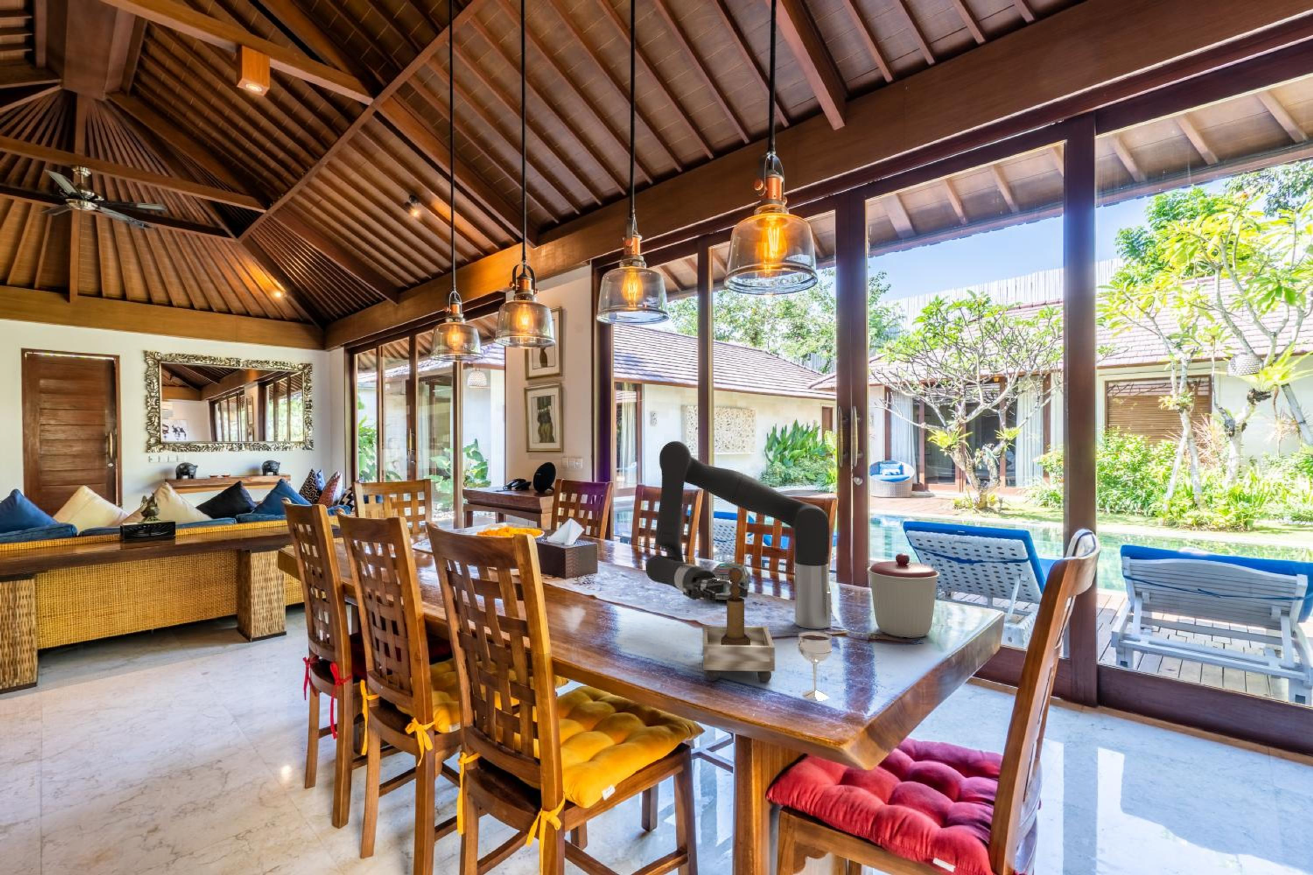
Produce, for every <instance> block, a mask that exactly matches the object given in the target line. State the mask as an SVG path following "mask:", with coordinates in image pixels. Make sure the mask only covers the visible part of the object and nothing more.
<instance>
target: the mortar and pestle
mask: <svg viewBox="0 0 1313 875" xmlns="http://www.w3.org/2000/svg"><path fill="white" fill-rule="evenodd" d="M728 575H729V578H730V580H731V582H732V587H731V588H730V591H731V595H732V597H729V598H727V600H726V626H727V634H725V635H724V636H723V637H722V638H721V645H750V638H749V637H747V635H745V634H744V626H745V599H744V598H743V597H741V598H739V595H740V590H741V589H740V588H739V586H738V584H739V582H740V580H741V578H742V572H741V570H740V569H738V568H732V569H730V571H729V574H728Z"/></svg>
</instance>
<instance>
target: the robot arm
mask: <svg viewBox="0 0 1313 875" xmlns="http://www.w3.org/2000/svg"><path fill="white" fill-rule="evenodd" d="M658 460H659V462H658V463H659V468H660V469H661V490H660V499H659V505H658V513H657V517H656V518H657V519H656V520H657V521H656V526H655V527H656V528H655V530H656V531H655V540H654V541H655V545H656V546H658V547H660V548H662V549H664V550H665V551H666V553H667V555H660V554H655V555H653V556H651V557H649V558H648V559H647V561H646V565H645V573H646V575H647V577H648V578H649V579H650V581H653V582H655V583H660V584H663V585H668V586H670V587H673V588H674V589H677V590H679V591H681V592H682V596H686V598H689V599H691V600H694V601H695V600H699V601H700V600H701V601H704V600H706V601H709V602H711V603H715V602H716V600H717V599H716V595H726V596H728V595H730V594H731V591H730V588H731V587H732V582H731V580H730V578H728V580H721V579H719V578H716V577H715V575H714V573H713V572H712V571H711V570H710V569H707V568H704V567H702V566H699V565H696V564H691V563H690V564H689V563H688V562H685V561H684V556H683V551H682V550H683V549H682V543H681V538H682V529H683V528H682V526H683V501H684V499H683V498H684V490H685V489H684V488H685V487H684V486H685V483H686V484H689V485H692V486H695V487H697V488H700V489H701V490H704V491H706V492H708V493H709V494H710V495H713V496H715V497H717V498H719V499H721V500H724V501H725V502H728V503H729V504H732V505H734V506H736V507H738V508H740V509H743V510H746V511H748V512H751V513H754V514H758V515H762V516H765V517H770V518H773V519H774V520H775V519H776V520H777V521H779V522H782V523H783V524H785V525H787V526H789V527H791V528H792V529H794V624H795V625H796V626H798V627H800V628H803V629H811V630H812V629H814V630H820V629H826V628H827V629H828V628H832V627H831V626H832V621H831V620H832V616H831V615H832V614H831V612H832V610H831V608H832V607H831V604H832V603H831V599H832V598H831V595H832V594H831V592H830V590H829V588H830V586H829V581H830V580H829V576H830V575H829V573H830V572H829V560H830V558H829V557H830V535H831V534H830V529H831V528H830V520H829V517H828V514H827V513H826V512H825V511H824V510H823V509H822V508H821V507H819V506H817V505H815V504H812V503H809V502H805V501H802V500H799V499H795V498H793V497H790V496H787V495H786V494H783V493H781V492H780V491H778V490H776V489H774V488H773V487H771V486H769V485H767V484H766V483H763V482H761V481H759V480H758V479H756V478H753V477H752V476H749V475H747V474H745V473H743V472H740V471H737V470H733V469H729V468H728V469H727V468H724V467H718V466H717V467H716V466H712V465H709V464H707V463H704V462H702V461H700V460H698V459H696V458H695V457H693V456H692V454H691V451H690V449H689V447H688V446H687V445H686V444H685V443H684V442H682V441H679V440H673V441H669V442H668V443H666V444H664V446H663V447H662V448H661V450H660V452H659V458H658ZM738 586H739V588H740V589H741V590H740V595H739V596H741V598H743V599H744V598H748V595H749V594H748V592H749V590H748V589H747V588H746V587H744V582H742V581H740V582H739V584H738ZM724 587H726V592H723V591H724Z"/></svg>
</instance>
